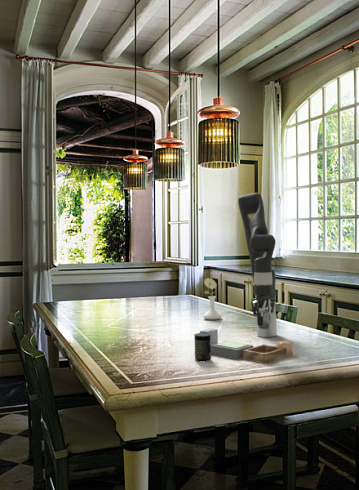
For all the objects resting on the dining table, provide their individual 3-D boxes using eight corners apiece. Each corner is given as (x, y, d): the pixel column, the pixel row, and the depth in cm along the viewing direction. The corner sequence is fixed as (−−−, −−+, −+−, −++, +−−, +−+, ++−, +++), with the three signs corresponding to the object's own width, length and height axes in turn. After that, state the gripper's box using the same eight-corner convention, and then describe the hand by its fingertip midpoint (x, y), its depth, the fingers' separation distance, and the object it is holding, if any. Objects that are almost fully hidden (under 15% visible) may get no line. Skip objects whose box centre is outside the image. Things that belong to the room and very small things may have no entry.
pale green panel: (227, 344, 222) (227, 341, 222) (248, 347, 214) (247, 344, 214) (215, 347, 217) (215, 344, 217) (236, 350, 209) (236, 348, 209)
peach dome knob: (282, 351, 218) (281, 340, 218) (296, 354, 213) (296, 342, 213) (272, 354, 213) (272, 342, 213) (287, 357, 208) (286, 345, 208)
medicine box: (210, 347, 231) (209, 328, 230) (218, 348, 228) (217, 329, 228) (199, 350, 225) (199, 330, 224) (207, 351, 222) (207, 331, 222)
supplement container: (210, 362, 203) (209, 336, 203) (193, 361, 204) (193, 336, 204) (212, 358, 210) (211, 333, 210) (196, 357, 211) (195, 332, 211)
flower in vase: (225, 319, 305) (225, 278, 305) (210, 321, 299) (210, 279, 298) (212, 316, 316) (211, 276, 316) (197, 318, 310) (196, 278, 309)
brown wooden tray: (242, 358, 207) (242, 350, 207) (263, 352, 218) (263, 344, 218) (265, 363, 199) (265, 354, 199) (286, 356, 210) (286, 348, 210)
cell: (262, 326, 211) (262, 309, 211) (271, 327, 208) (271, 310, 208) (256, 327, 208) (256, 310, 208) (265, 329, 205) (265, 311, 205)
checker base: (227, 349, 225) (227, 341, 224) (253, 354, 214) (253, 345, 214) (210, 354, 217) (210, 345, 217) (236, 359, 207) (236, 350, 207)
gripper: (265, 281, 216) (266, 321, 216) (245, 284, 206) (245, 326, 206) (280, 282, 210) (281, 323, 211) (260, 285, 200) (261, 328, 201)
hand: (263, 324), depth 208 cm, fingers closed on cell, 4 cm apart
